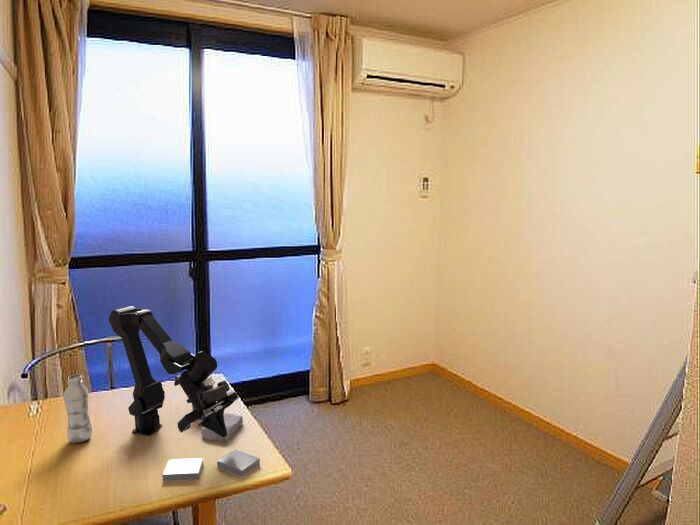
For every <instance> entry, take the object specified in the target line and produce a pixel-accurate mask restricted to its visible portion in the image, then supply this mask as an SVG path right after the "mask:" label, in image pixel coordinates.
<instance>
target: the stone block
mask: <svg viewBox="0 0 700 525" xmlns="http://www.w3.org/2000/svg"><path fill="white" fill-rule="evenodd" d="M224 422H225V426H226V431H227V436H226V437H224V438H223V437H221V436H220V435H218V434H216V433H215V432H213V431H211V430H209V429H207V428H205V427H203V426H202V428H201V435H202V437H203V439H206V440H209V441H210V440H211V441H220V440H222V441H224V440H225V442H228V441H229V440H230V439H231V438H232V437H233V436H234V435H235V433H236V432H237V431H238V430H239V429H240V428H241V427H242V425H243V423H244V419H243V415H238V414H234V413H227V412H224ZM240 426H241V427H240ZM239 427H240V428H239ZM233 434H234V435H233ZM232 435H233V436H232ZM227 440H228V441H227Z"/></svg>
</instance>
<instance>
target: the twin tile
mask: <svg viewBox="0 0 700 525" xmlns="http://www.w3.org/2000/svg"><path fill="white" fill-rule="evenodd" d="M203 466H204V458H203V457H198V458H197V457H196V458H194V457H193V458H175V459H174V458H173V459H169V460H168V462H167V464H166V466H165V468H164V470H163V472H162V482H177V481H179V482H180V481H182V482H183V481H199V479H200V475H201V473H202V469H203Z"/></svg>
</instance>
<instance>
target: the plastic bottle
mask: <svg viewBox="0 0 700 525" xmlns="http://www.w3.org/2000/svg"><path fill="white" fill-rule="evenodd" d="M83 382H84V381H83V375H82V374H72V375H70V376H68V377H67V385H68V387H67V388H65V391H64V392H63V395H62V398H63V402H64V405H65V407H66V413H67V414H66V415H67V430H66V436H67V440H68V441H70V442H71V443H73V444H78V443H79V444H80V443H83V442H86V441H88V440H89V439H90V438H91V436H92V435H93V427H92V423H91V421H90V416H89V389H88V388H87V386H85V385H84V384H83Z"/></svg>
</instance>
